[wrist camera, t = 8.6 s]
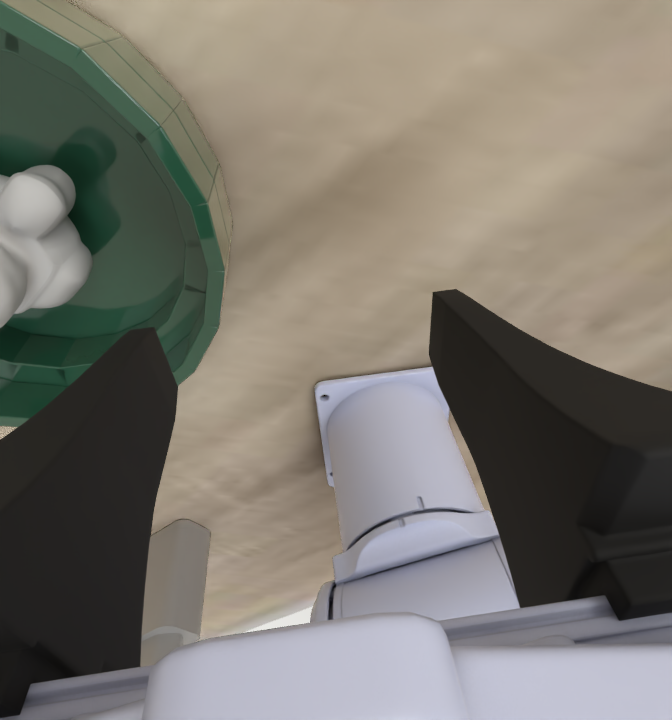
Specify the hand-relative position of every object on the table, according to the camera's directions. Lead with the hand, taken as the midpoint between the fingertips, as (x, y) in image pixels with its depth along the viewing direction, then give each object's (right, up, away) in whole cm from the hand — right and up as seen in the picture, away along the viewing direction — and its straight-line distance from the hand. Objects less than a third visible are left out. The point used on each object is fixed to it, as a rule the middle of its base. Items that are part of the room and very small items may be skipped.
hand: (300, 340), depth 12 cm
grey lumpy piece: (-11, +5, +6) cm, 14 cm away
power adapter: (-11, -14, +22) cm, 29 cm away
